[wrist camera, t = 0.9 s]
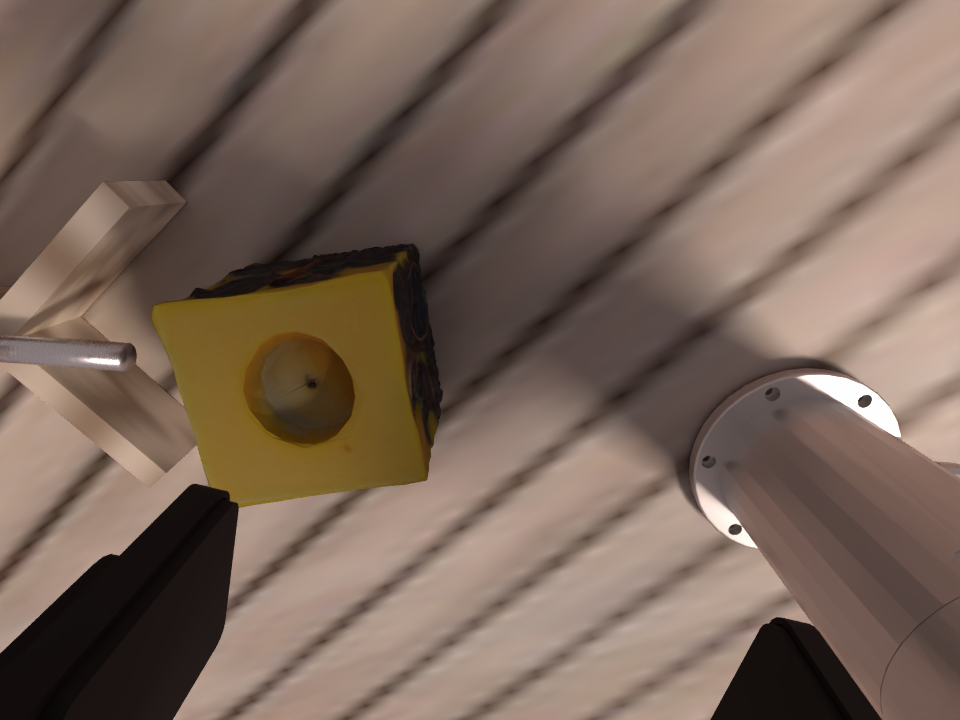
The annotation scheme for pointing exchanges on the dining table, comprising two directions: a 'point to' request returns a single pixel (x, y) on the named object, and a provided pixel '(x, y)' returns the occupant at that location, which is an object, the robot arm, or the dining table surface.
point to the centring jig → (67, 295)
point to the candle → (308, 374)
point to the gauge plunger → (67, 352)
